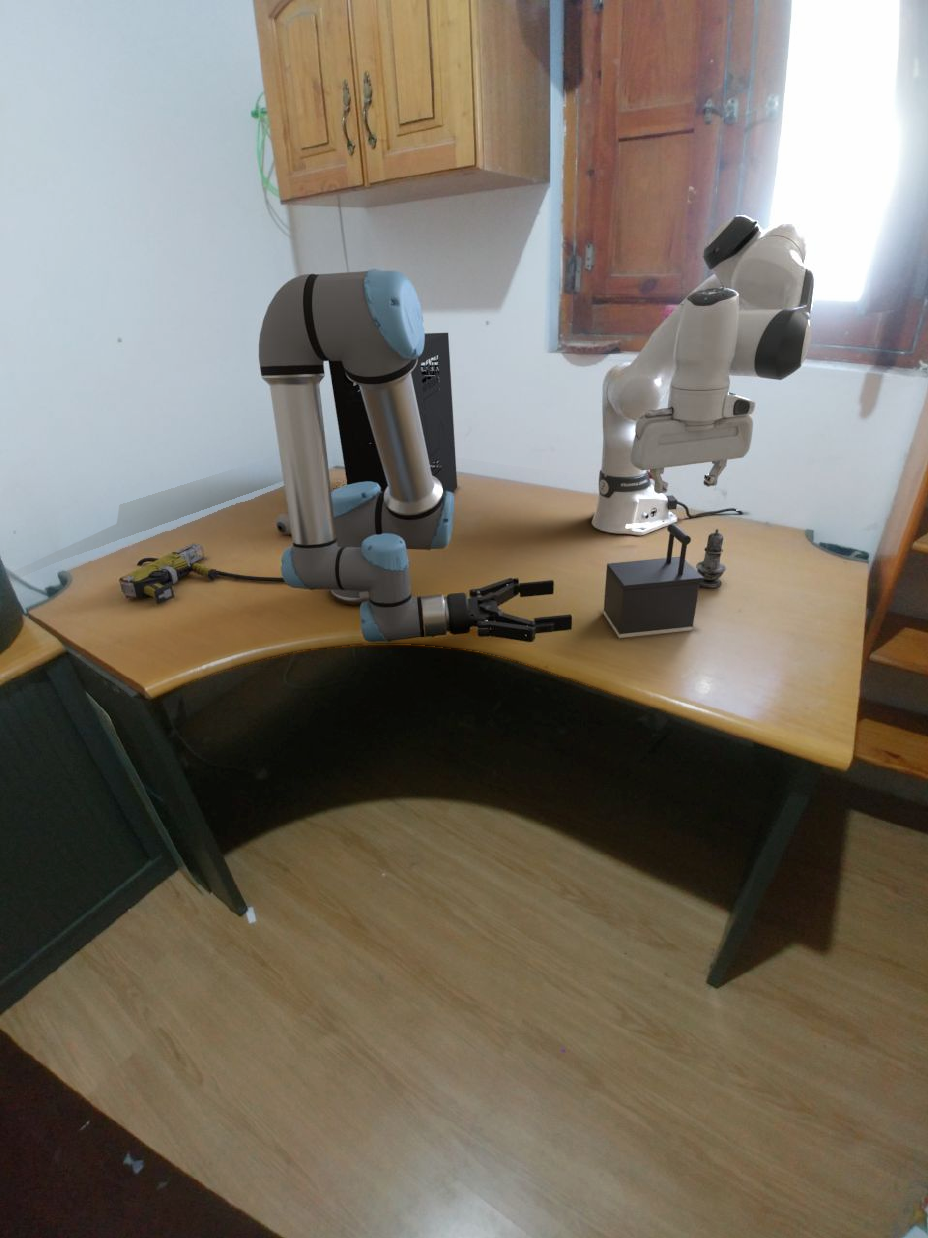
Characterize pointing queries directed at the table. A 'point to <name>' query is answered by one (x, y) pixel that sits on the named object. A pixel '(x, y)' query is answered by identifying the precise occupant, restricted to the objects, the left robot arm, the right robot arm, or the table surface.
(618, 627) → the chest
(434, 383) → the black computer tower
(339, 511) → the left robot arm
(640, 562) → the lid
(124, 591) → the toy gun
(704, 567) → the salt shaker
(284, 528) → the eyeball
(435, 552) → the table surface
